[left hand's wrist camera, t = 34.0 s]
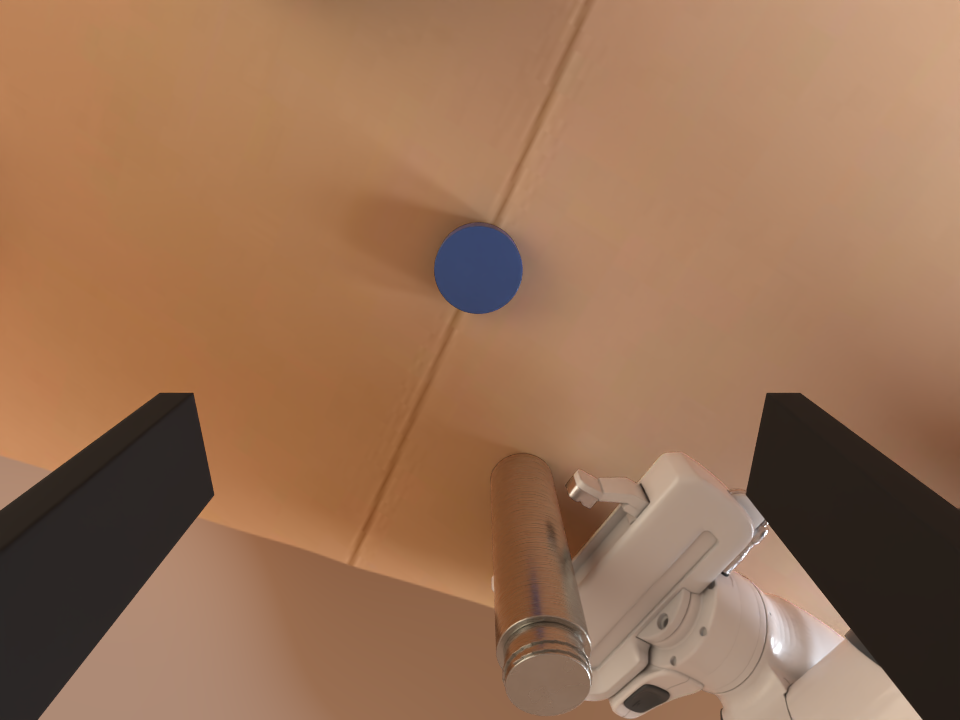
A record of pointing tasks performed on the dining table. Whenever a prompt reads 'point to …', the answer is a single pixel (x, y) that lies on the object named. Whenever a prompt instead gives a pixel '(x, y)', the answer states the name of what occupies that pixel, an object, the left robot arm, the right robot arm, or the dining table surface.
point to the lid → (478, 268)
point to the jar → (536, 592)
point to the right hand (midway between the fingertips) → (533, 530)
